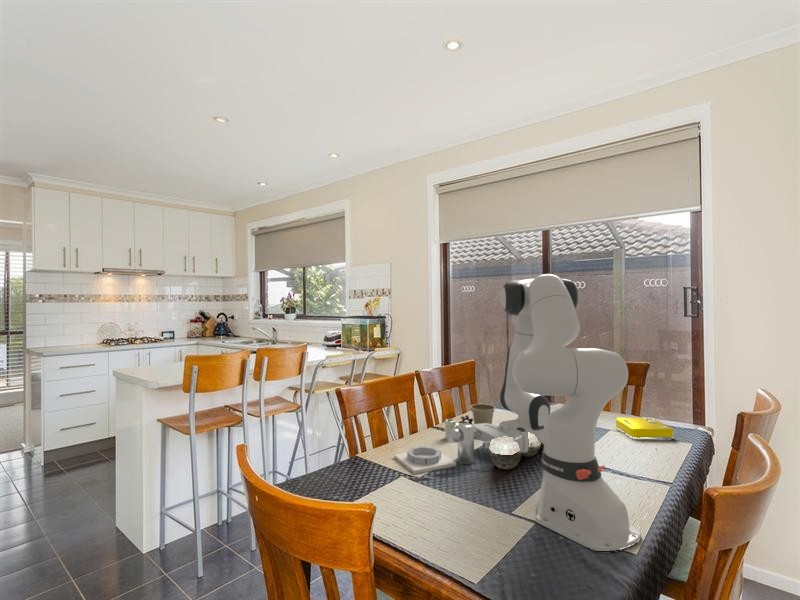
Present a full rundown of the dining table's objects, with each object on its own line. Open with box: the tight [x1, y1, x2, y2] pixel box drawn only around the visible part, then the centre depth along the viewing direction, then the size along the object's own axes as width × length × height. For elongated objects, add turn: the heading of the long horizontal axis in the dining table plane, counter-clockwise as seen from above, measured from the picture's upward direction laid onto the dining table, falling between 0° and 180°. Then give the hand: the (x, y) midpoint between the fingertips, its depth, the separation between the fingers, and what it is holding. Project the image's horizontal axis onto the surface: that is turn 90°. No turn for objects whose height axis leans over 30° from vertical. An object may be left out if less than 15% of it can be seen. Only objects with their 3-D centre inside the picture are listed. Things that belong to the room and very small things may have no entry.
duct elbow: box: [446, 423, 475, 465], centre depth 134 cm, size 5×8×11 cm, turn 115°
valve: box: [444, 415, 474, 440], centre depth 159 cm, size 7×7×12 cm
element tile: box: [615, 417, 674, 438], centre depth 162 cm, size 15×15×5 cm
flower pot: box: [470, 403, 496, 425], centre depth 167 cm, size 9×9×9 cm
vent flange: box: [393, 445, 457, 475], centre depth 134 cm, size 14×14×3 cm
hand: (475, 440), depth 136 cm, fingers open, 8 cm apart
